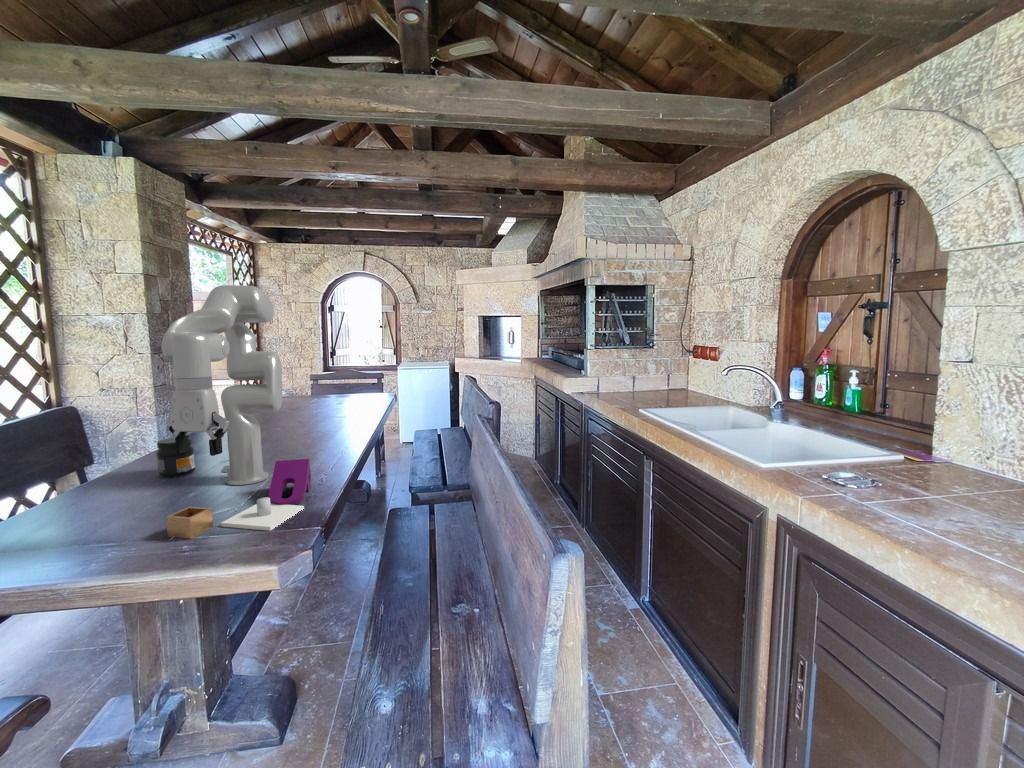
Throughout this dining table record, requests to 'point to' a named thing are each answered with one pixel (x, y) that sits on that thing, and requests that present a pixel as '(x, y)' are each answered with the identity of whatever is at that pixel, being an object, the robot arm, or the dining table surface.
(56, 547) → the dining table surface
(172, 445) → the supplement container
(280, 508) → the flange
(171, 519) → the open wooden box
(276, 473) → the mounting bracket
